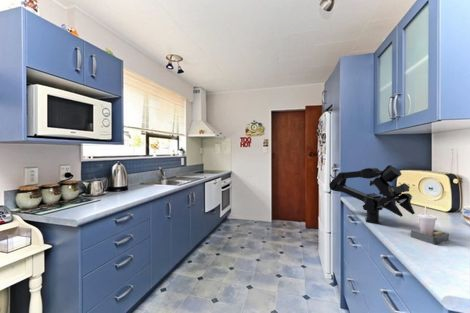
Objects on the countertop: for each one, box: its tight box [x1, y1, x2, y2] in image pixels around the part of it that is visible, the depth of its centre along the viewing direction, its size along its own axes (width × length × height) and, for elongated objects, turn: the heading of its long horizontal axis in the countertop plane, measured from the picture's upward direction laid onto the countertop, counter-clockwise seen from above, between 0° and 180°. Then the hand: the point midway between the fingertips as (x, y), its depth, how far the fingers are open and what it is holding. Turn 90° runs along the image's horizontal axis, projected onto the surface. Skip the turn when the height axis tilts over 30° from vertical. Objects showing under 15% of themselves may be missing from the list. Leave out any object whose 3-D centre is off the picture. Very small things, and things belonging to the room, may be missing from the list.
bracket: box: [410, 229, 450, 246], centre depth 96 cm, size 9×10×4 cm
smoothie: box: [417, 205, 438, 236], centre depth 96 cm, size 6×6×14 cm
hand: (408, 215), depth 103 cm, fingers open, 9 cm apart
